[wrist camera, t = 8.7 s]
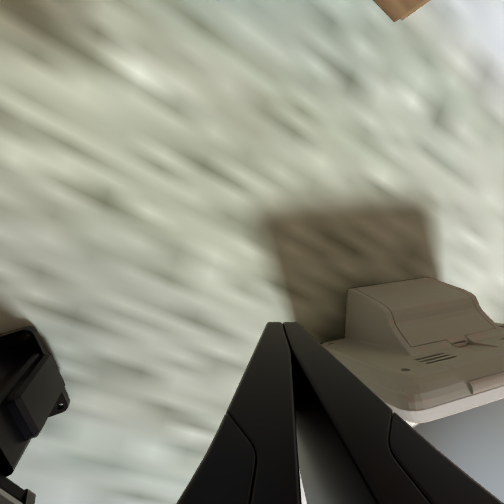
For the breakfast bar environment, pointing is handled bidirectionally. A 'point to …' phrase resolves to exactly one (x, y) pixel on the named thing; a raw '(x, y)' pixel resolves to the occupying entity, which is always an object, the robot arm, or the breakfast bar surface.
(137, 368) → the breakfast bar surface
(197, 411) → the breakfast bar surface
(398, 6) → the cubby cabinet
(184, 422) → the breakfast bar surface
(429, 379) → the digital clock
